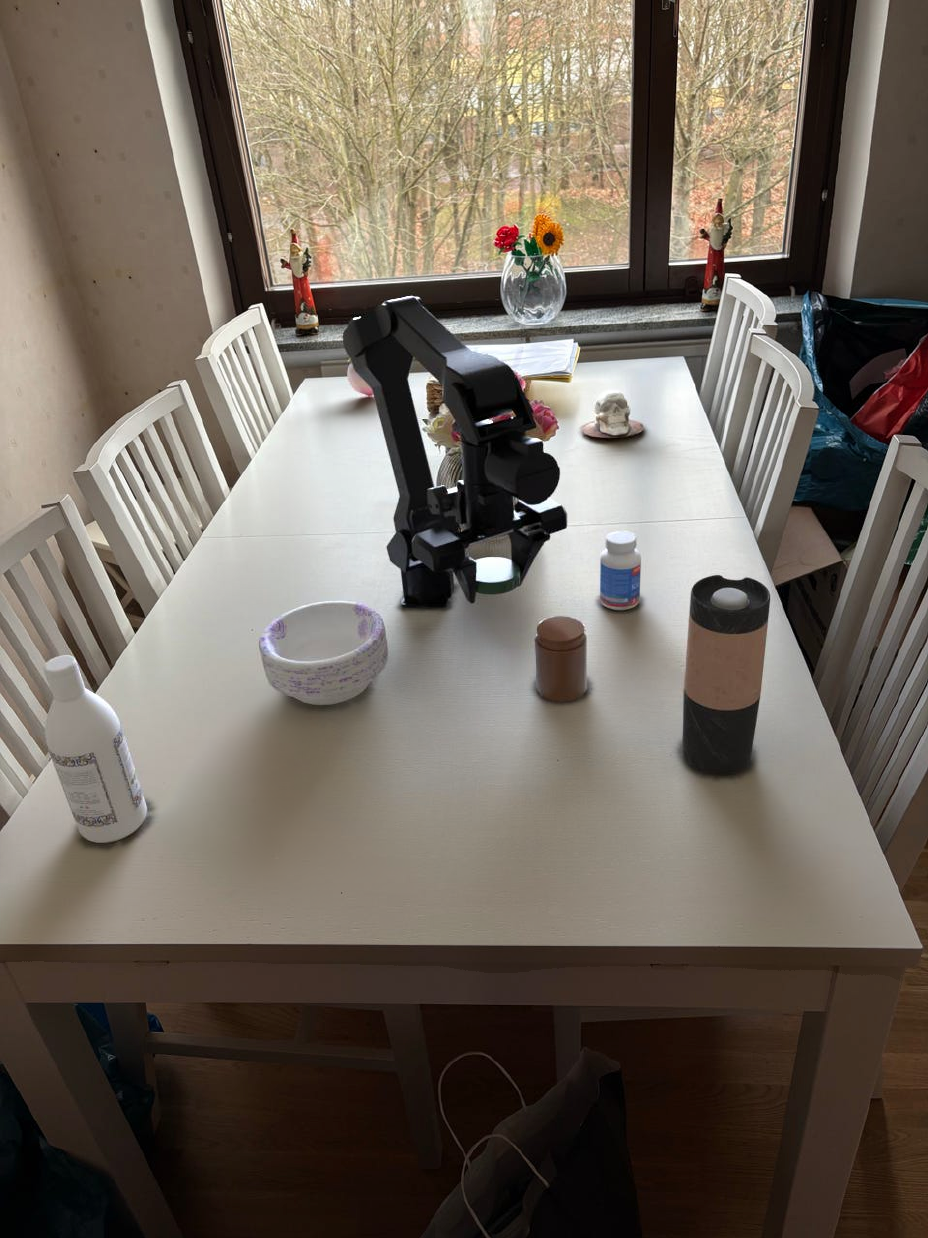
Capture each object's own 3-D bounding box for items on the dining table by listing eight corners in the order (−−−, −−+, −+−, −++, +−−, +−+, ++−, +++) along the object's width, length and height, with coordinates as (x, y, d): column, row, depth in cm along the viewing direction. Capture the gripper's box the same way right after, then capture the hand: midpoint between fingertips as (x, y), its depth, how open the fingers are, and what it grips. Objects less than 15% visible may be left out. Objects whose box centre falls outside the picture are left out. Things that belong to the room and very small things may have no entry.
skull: (654, 433, 181) (619, 397, 177) (613, 470, 185) (578, 435, 181) (643, 410, 191) (609, 376, 187) (605, 445, 195) (570, 412, 191)
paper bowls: (257, 670, 123) (245, 617, 118) (369, 639, 127) (362, 587, 123) (286, 735, 110) (274, 679, 106) (409, 698, 115) (402, 643, 111)
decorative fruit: (345, 402, 213) (338, 358, 208) (354, 391, 220) (349, 347, 215) (385, 402, 212) (380, 357, 206) (394, 390, 218) (389, 347, 213)
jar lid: (529, 574, 118) (529, 562, 117) (505, 599, 113) (505, 587, 112) (480, 564, 121) (480, 553, 120) (455, 588, 116) (454, 576, 115)
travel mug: (711, 787, 98) (726, 620, 88) (665, 747, 104) (673, 587, 94) (768, 761, 101) (789, 597, 91) (720, 724, 107) (734, 566, 96)
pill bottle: (638, 612, 128) (640, 547, 123) (598, 610, 129) (598, 546, 124) (640, 592, 133) (642, 528, 128) (601, 590, 134) (602, 527, 129)
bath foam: (124, 790, 104) (73, 635, 94) (161, 816, 100) (112, 657, 90) (67, 826, 100) (6, 668, 89) (103, 855, 96) (43, 693, 85)
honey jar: (545, 706, 112) (543, 645, 108) (530, 678, 117) (528, 619, 113) (593, 696, 113) (594, 636, 109) (577, 669, 118) (576, 610, 114)
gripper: (516, 436, 119) (520, 548, 127) (383, 475, 112) (397, 590, 120) (569, 463, 111) (570, 580, 119) (430, 506, 103) (441, 628, 111)
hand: (494, 593), depth 117 cm, fingers closed on jar lid, 6 cm apart
